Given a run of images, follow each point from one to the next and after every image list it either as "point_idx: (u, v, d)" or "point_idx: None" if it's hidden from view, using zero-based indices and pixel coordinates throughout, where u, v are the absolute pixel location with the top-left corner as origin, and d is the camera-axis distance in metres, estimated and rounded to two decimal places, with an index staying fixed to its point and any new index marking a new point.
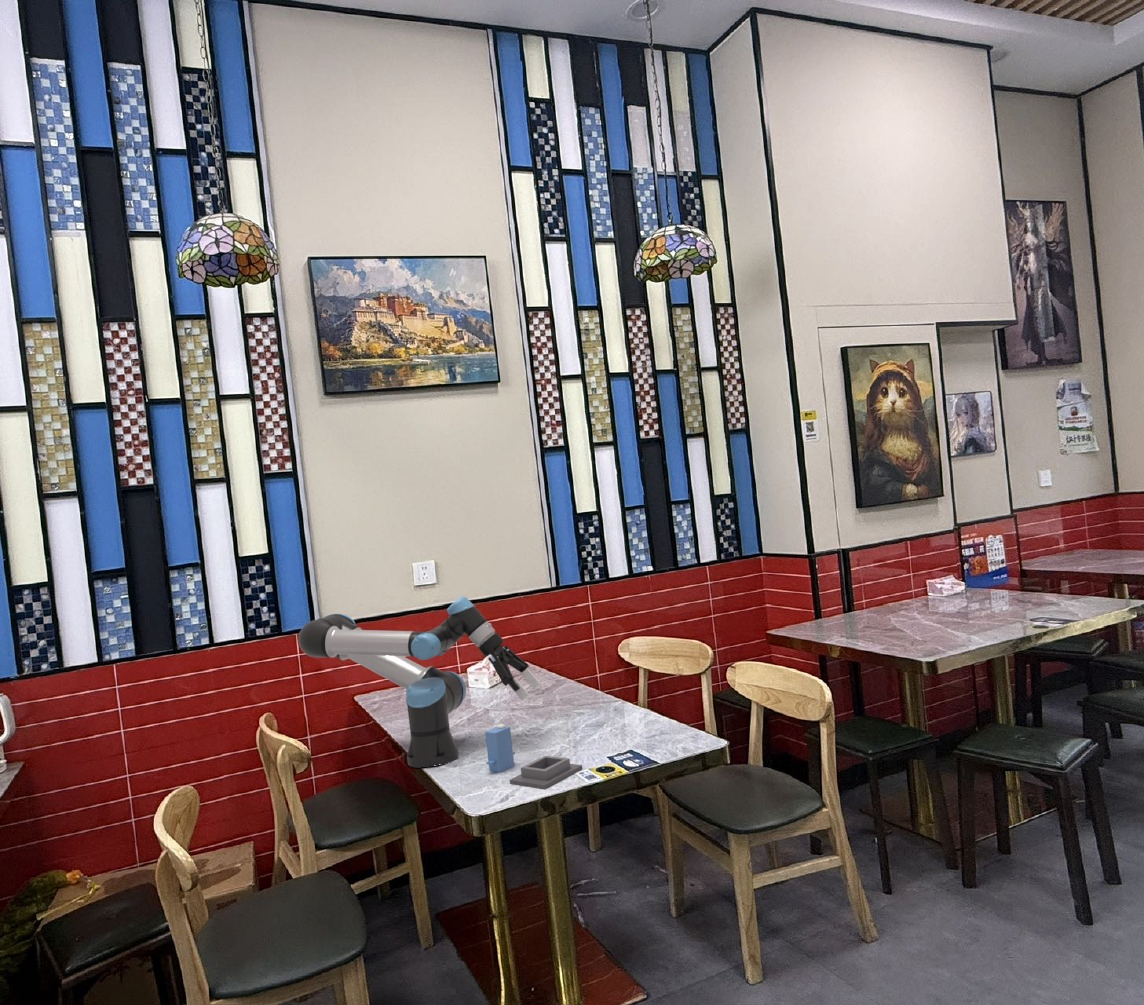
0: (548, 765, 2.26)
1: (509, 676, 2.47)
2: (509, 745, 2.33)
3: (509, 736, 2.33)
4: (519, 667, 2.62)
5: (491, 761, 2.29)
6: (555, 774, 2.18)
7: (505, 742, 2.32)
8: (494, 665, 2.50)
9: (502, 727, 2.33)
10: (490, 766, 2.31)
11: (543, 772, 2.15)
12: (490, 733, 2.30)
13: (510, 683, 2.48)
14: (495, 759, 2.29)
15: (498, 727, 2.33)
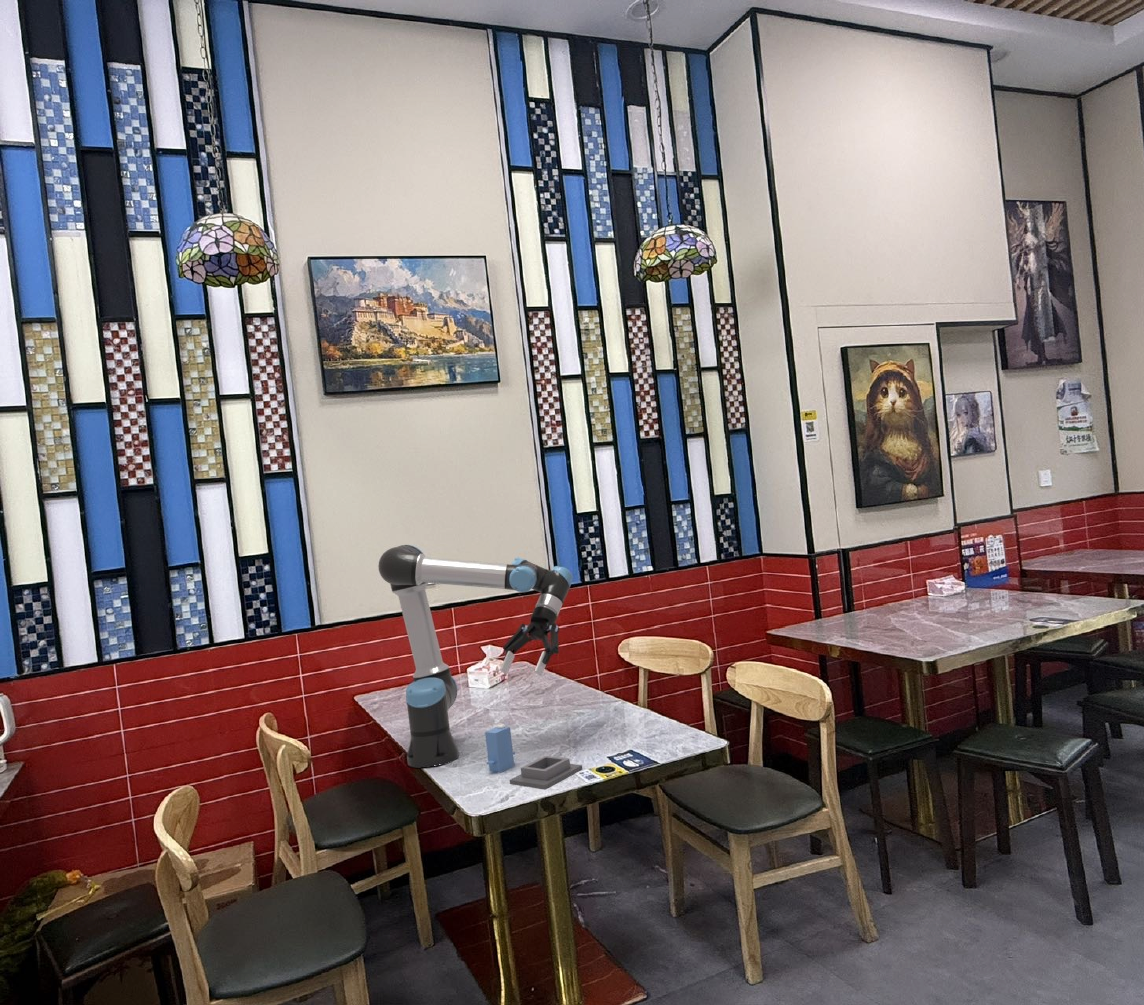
0: (548, 765, 2.26)
1: None
2: (509, 745, 2.33)
3: (509, 736, 2.33)
4: (515, 648, 2.51)
5: (491, 761, 2.29)
6: (555, 774, 2.18)
7: (505, 742, 2.32)
8: (554, 632, 2.45)
9: (502, 727, 2.33)
10: (490, 766, 2.31)
11: (543, 772, 2.15)
12: (490, 733, 2.30)
13: (549, 654, 2.41)
14: (495, 759, 2.29)
15: (498, 727, 2.33)
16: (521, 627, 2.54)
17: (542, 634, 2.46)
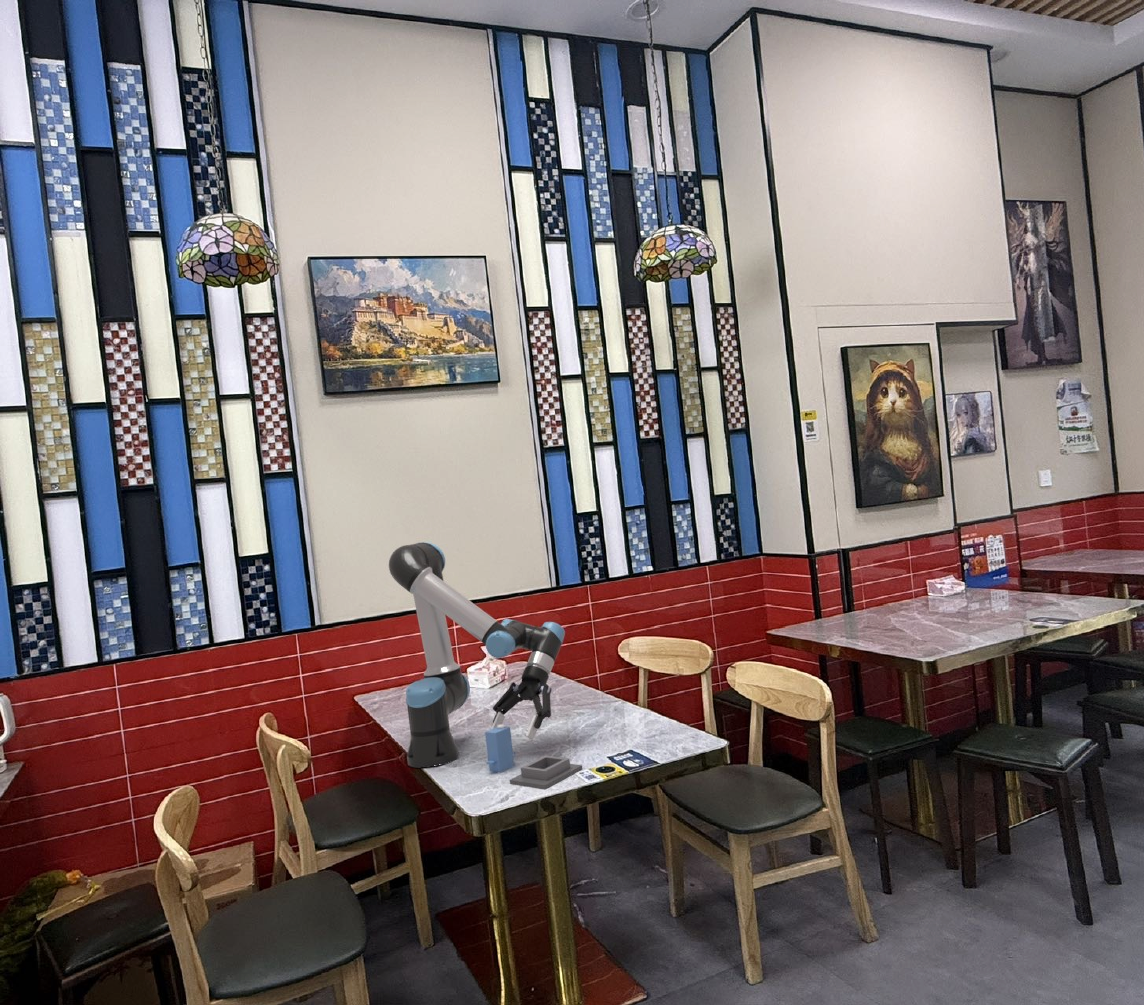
0: (548, 765, 2.26)
1: None
2: (509, 745, 2.33)
3: (509, 736, 2.33)
4: (505, 708, 2.42)
5: (491, 761, 2.29)
6: (555, 774, 2.18)
7: (505, 742, 2.32)
8: (546, 694, 2.37)
9: (502, 727, 2.33)
10: (490, 766, 2.31)
11: (543, 772, 2.15)
12: (490, 733, 2.30)
13: (541, 718, 2.33)
14: (495, 759, 2.29)
15: (498, 727, 2.33)
16: (511, 686, 2.45)
17: (533, 696, 2.38)
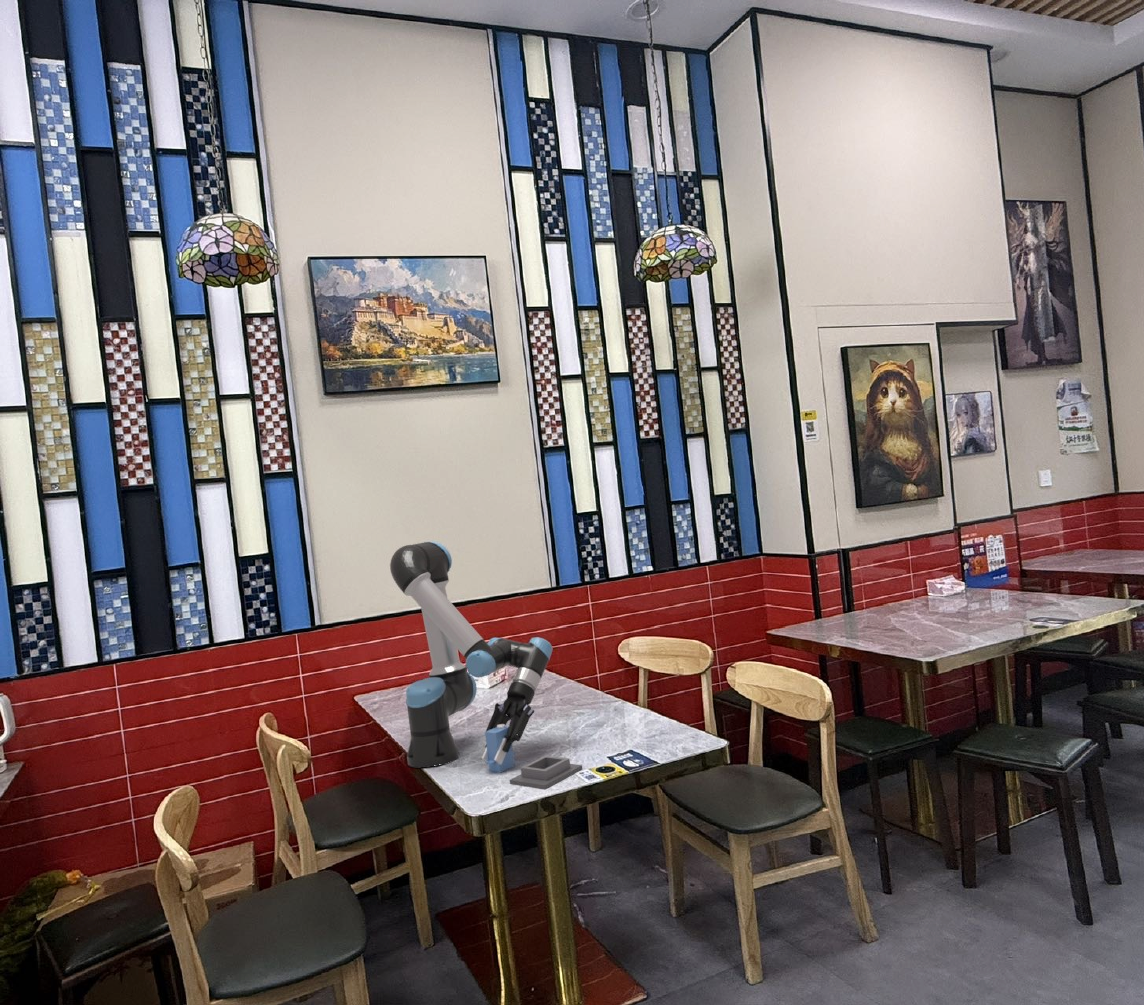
0: (548, 765, 2.26)
1: None
2: None
3: None
4: None
5: (491, 761, 2.29)
6: (555, 774, 2.18)
7: None
8: (525, 716, 2.33)
9: (502, 727, 2.33)
10: (490, 766, 2.31)
11: (543, 772, 2.15)
12: (490, 733, 2.30)
13: (510, 741, 2.30)
14: None
15: (498, 727, 2.33)
16: (497, 707, 2.41)
17: (513, 715, 2.35)
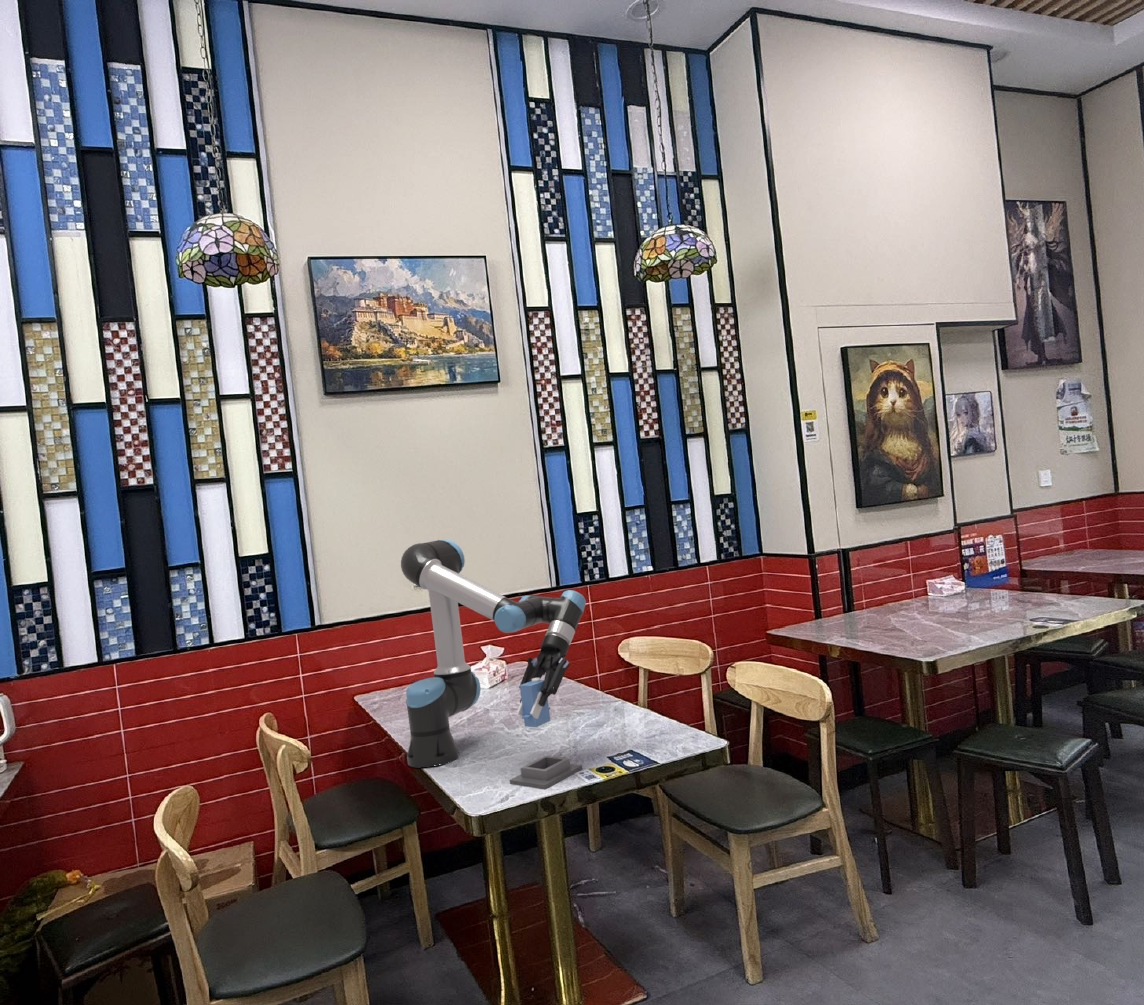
0: (548, 765, 2.26)
1: None
2: None
3: None
4: None
5: (527, 715, 2.19)
6: (555, 774, 2.18)
7: None
8: (560, 669, 2.23)
9: (537, 680, 2.23)
10: (525, 721, 2.21)
11: (543, 772, 2.15)
12: (525, 687, 2.20)
13: (546, 695, 2.21)
14: None
15: (533, 680, 2.23)
16: (530, 661, 2.31)
17: (548, 668, 2.25)
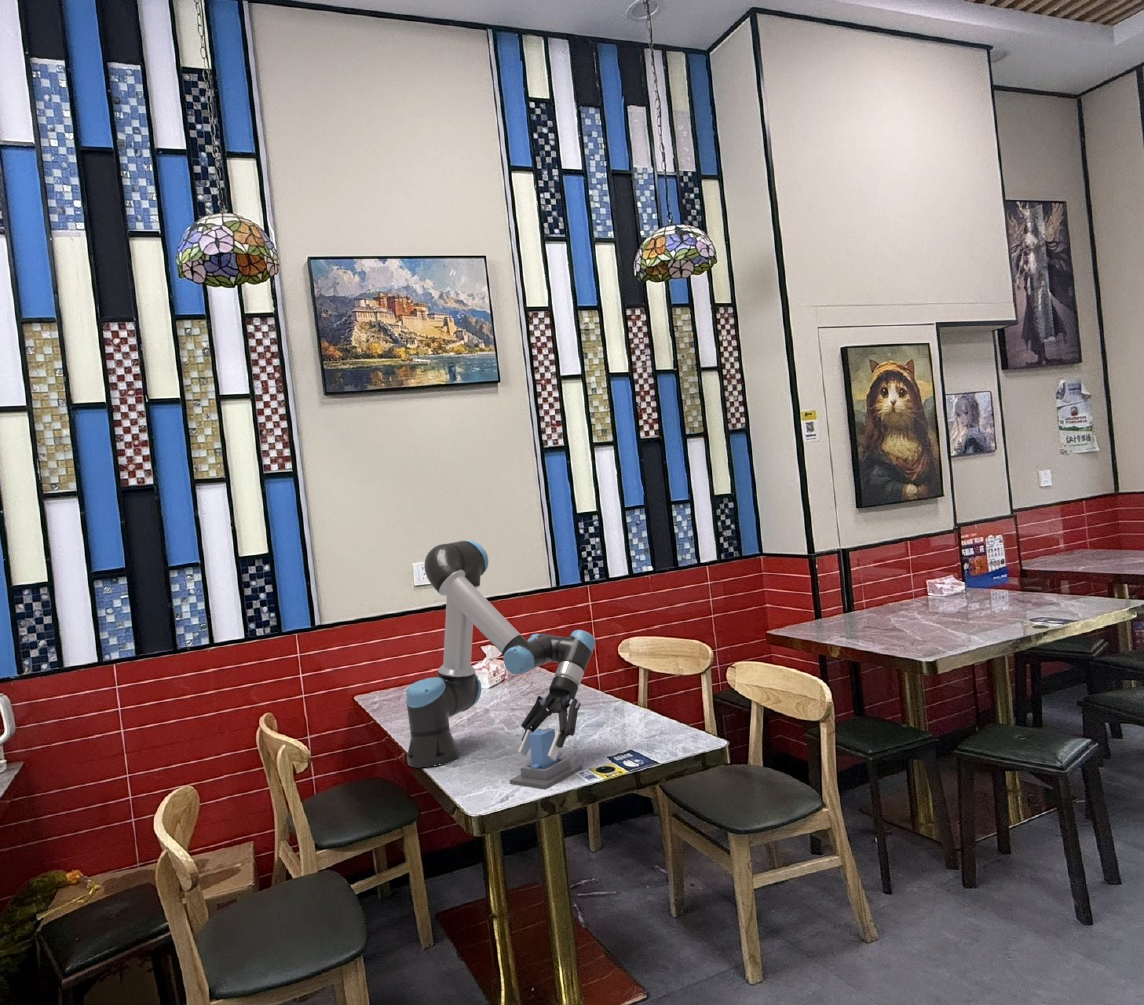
0: None
1: None
2: None
3: None
4: (535, 725, 2.26)
5: (535, 765, 2.18)
6: (555, 774, 2.18)
7: (550, 745, 2.21)
8: (573, 709, 2.22)
9: (546, 729, 2.22)
10: None
11: (543, 772, 2.15)
12: (534, 736, 2.19)
13: (564, 736, 2.18)
14: (540, 763, 2.19)
15: (542, 729, 2.22)
16: (538, 700, 2.30)
17: (560, 710, 2.23)
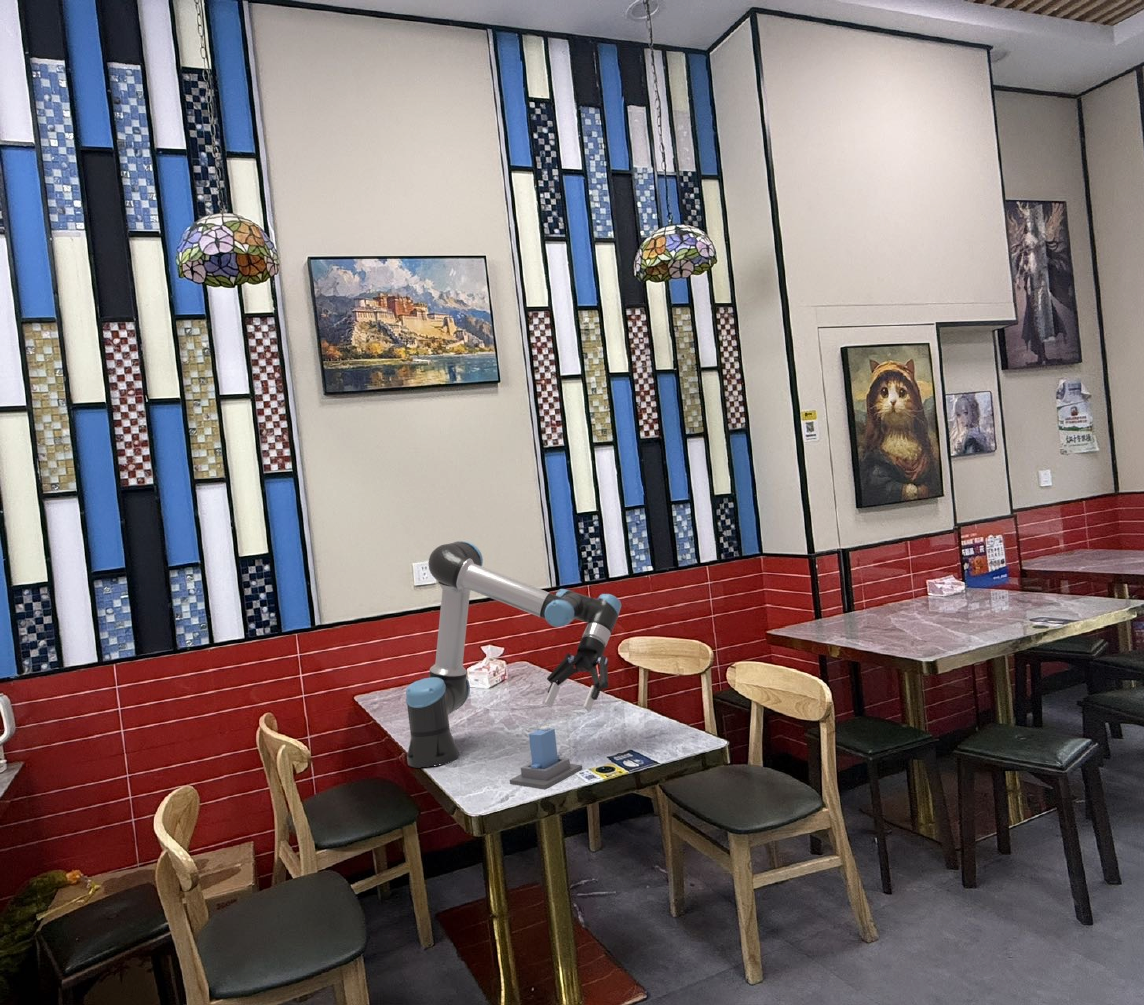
0: None
1: None
2: (554, 748, 2.22)
3: (554, 738, 2.22)
4: (560, 679, 2.38)
5: (535, 765, 2.18)
6: (555, 774, 2.18)
7: (550, 745, 2.21)
8: (604, 665, 2.32)
9: (546, 729, 2.22)
10: None
11: (543, 772, 2.15)
12: (534, 736, 2.19)
13: (598, 689, 2.28)
14: (540, 763, 2.19)
15: (542, 729, 2.22)
16: (567, 657, 2.41)
17: (590, 667, 2.33)
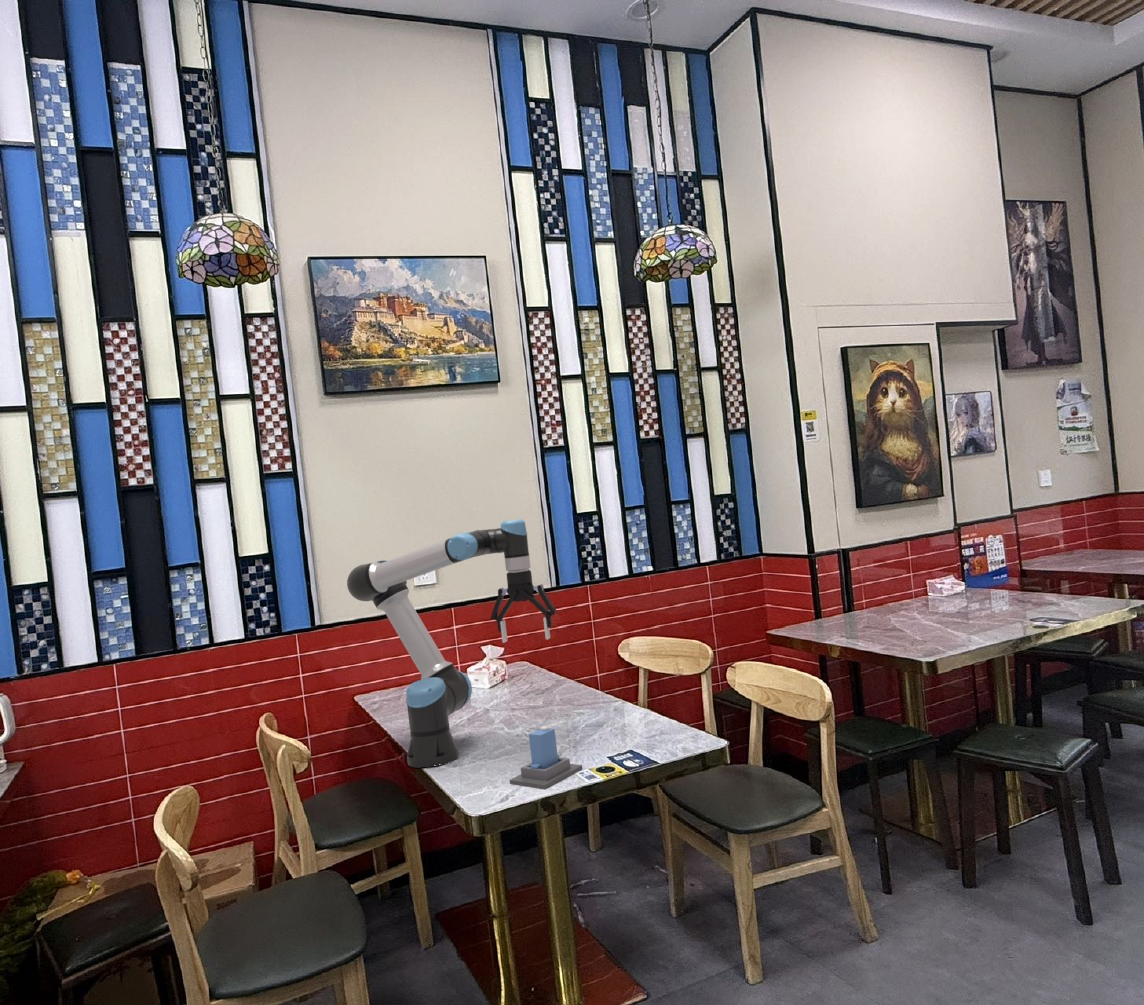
0: None
1: None
2: (554, 748, 2.22)
3: (554, 738, 2.22)
4: (504, 614, 2.53)
5: (535, 765, 2.18)
6: (555, 774, 2.18)
7: (550, 745, 2.21)
8: (544, 594, 2.49)
9: (546, 729, 2.22)
10: None
11: (543, 772, 2.15)
12: (534, 736, 2.19)
13: (550, 617, 2.50)
14: (540, 763, 2.19)
15: (542, 729, 2.22)
16: (500, 593, 2.52)
17: (532, 599, 2.50)
